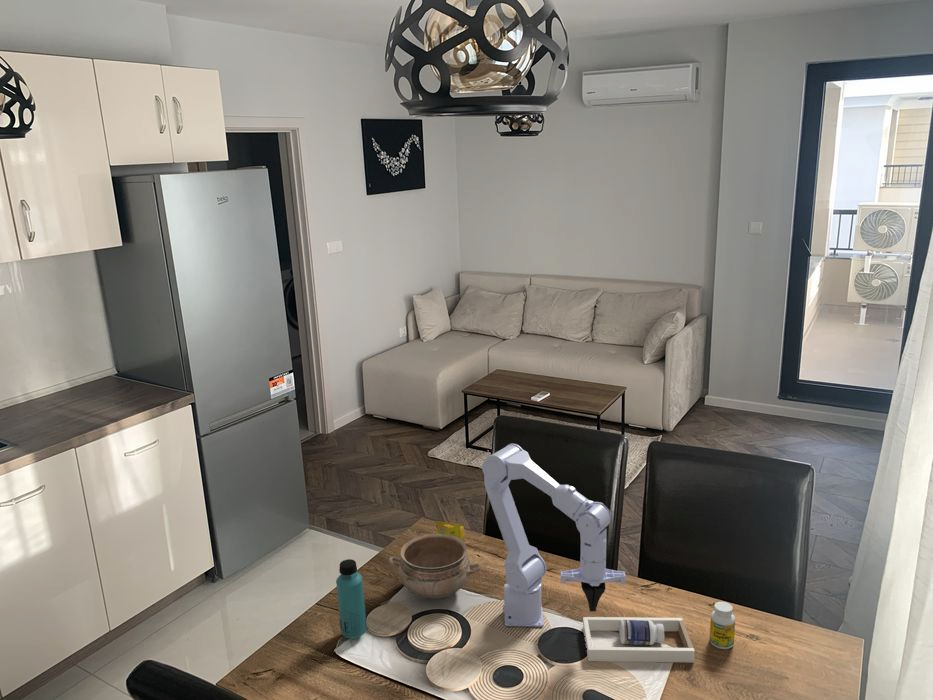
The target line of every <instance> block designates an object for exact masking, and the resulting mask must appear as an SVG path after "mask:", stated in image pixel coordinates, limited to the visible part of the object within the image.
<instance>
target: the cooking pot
mask: <svg viewBox="0 0 933 700" xmlns="http://www.w3.org/2000/svg"><path fill="white" fill-rule="evenodd" d="M467 552H468V546H467V544H466V543H464V542H463V541H462V540H461V539H459V538H457V537H455V536H452V535H447V534H438V533H428V534H423V535H422V534H421V535H418V536H416V537H413V538H411V539H410V540H408V541H407V542H406V543H404V544H403V546H402V547H401V549H400V557H397V556H390V557H389V559H388V563H389V564H390V566H391V567H393V569H396V571H398V575H399V579H400V582H401V583H402V585H403V586H404V588H405V589H407V590H408V592H410V593H411V594H413V595H415V596H417V597H420V598H423V599H432V600H433V599H434V600H435V599H436V600H437V599H441V598H446V597H450V596H452V595H454V594H455V593H457V592H459V591H460V590H461V589H462V588H463V587H464V585H466V583H467V581H468V579H469V578H470V576H471V575H473V574H476V573H477V572H478V571H480V570H481V568H482V564H481V563H471V562H470V558H469V555H468V554H467ZM394 561H396V562H398V563H399V564H396V563H395V562H394Z"/></svg>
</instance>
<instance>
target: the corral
mask: <svg viewBox="0 0 933 700" xmlns="http://www.w3.org/2000/svg"><path fill="white" fill-rule="evenodd" d="M620 620H650V621H652V622H653V624H654V625H656V624H663V627H664V632H677V633H678V634H679V637H680V640H681V644H682V646H683V647H642V646H641V647H640V646H639V647H634V646H632V647H629V646H625V647H624V646H619V647H618V646H593V641H592V636H591V631H599V632H600V631H604V632H605V631H607V632H609V631H611V632H613V631H614V632H615V631H617V632H619V623H620ZM582 629H583V636H585V637H584V641H585V642H586V643H585V642H584V643H585V649H586V648H587V650H586V654H587V661H588V662H618V663H619V662H624V663H625V662H626V663H627V662H631V663H634V662H635V663H637V662H640V663H695V653H696V652H695V647H694V646H693V643H692V640H691V637H690V635H689V633H688V630H687V628H686V625H685V622H684V619H683V617H641V616H640V617H639V616H638V617H637V616H636V617H633V616H632V617H629V616H628V617H627V616H626V617H624V616H623V617H620V616H619V617H617V616H615V617H614V616H612V617H611V616H609V617H607V616H583V617H582Z"/></svg>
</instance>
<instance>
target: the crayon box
mask: <svg viewBox="0 0 933 700" xmlns="http://www.w3.org/2000/svg"><path fill="white" fill-rule="evenodd" d="M436 530H437V534H447V535H452V536H455V537H457V538H459V539H461V540H462V541H463V542H464V543H465V542H466V540H465V526H463V525H461V524H459V523H453V522H445V521H439V520H437V529H436ZM465 544H466V543H465Z"/></svg>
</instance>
